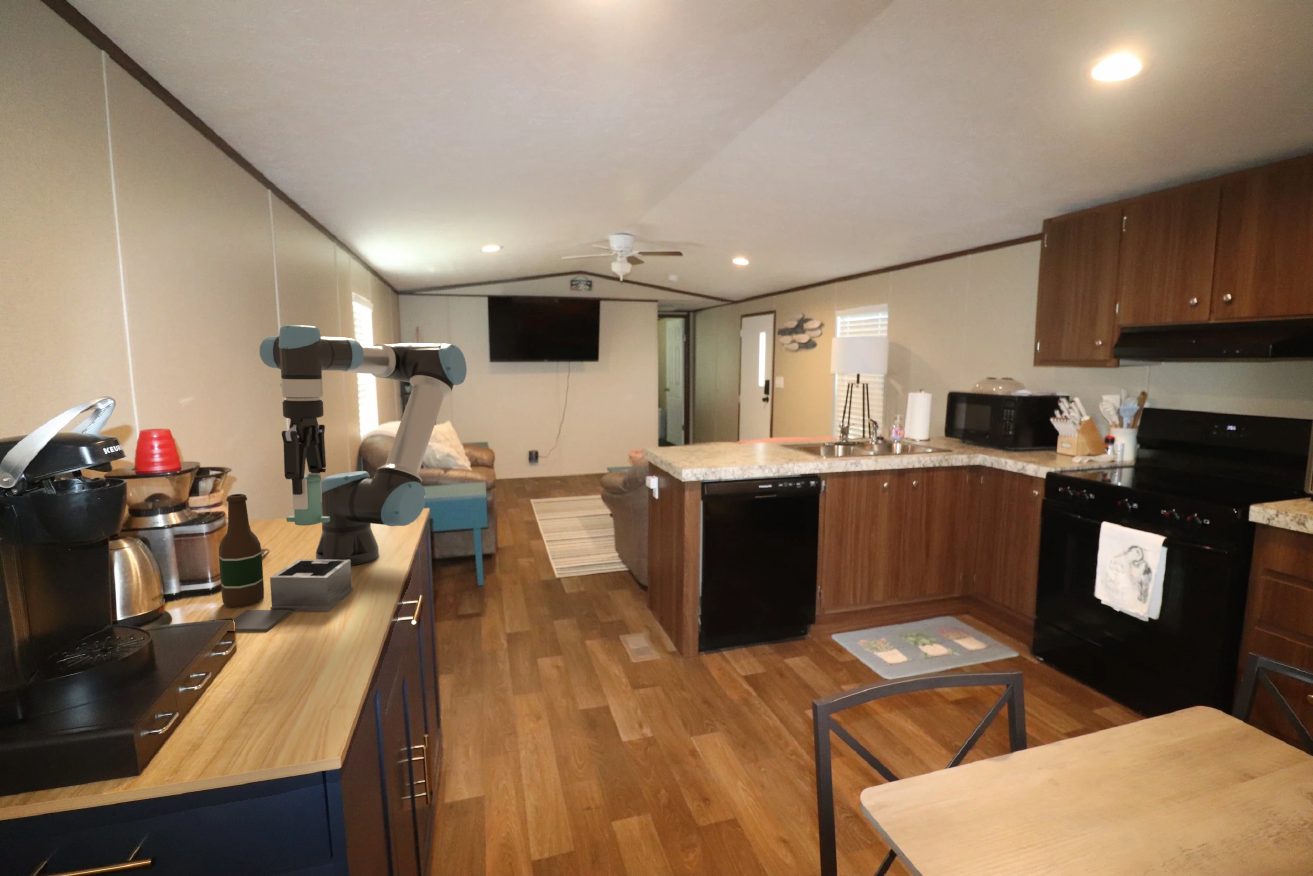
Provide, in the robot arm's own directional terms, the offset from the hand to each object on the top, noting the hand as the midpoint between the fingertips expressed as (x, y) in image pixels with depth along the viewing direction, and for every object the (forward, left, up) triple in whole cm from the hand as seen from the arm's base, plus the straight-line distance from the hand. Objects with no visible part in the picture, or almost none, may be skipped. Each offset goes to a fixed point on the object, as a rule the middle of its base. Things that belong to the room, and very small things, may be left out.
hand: (307, 505), depth 133 cm
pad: (+11, -6, -22) cm, 25 cm away
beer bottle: (0, -14, -22) cm, 26 cm away
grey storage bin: (0, 0, -22) cm, 22 cm away
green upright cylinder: (0, 0, -4) cm, 4 cm away
